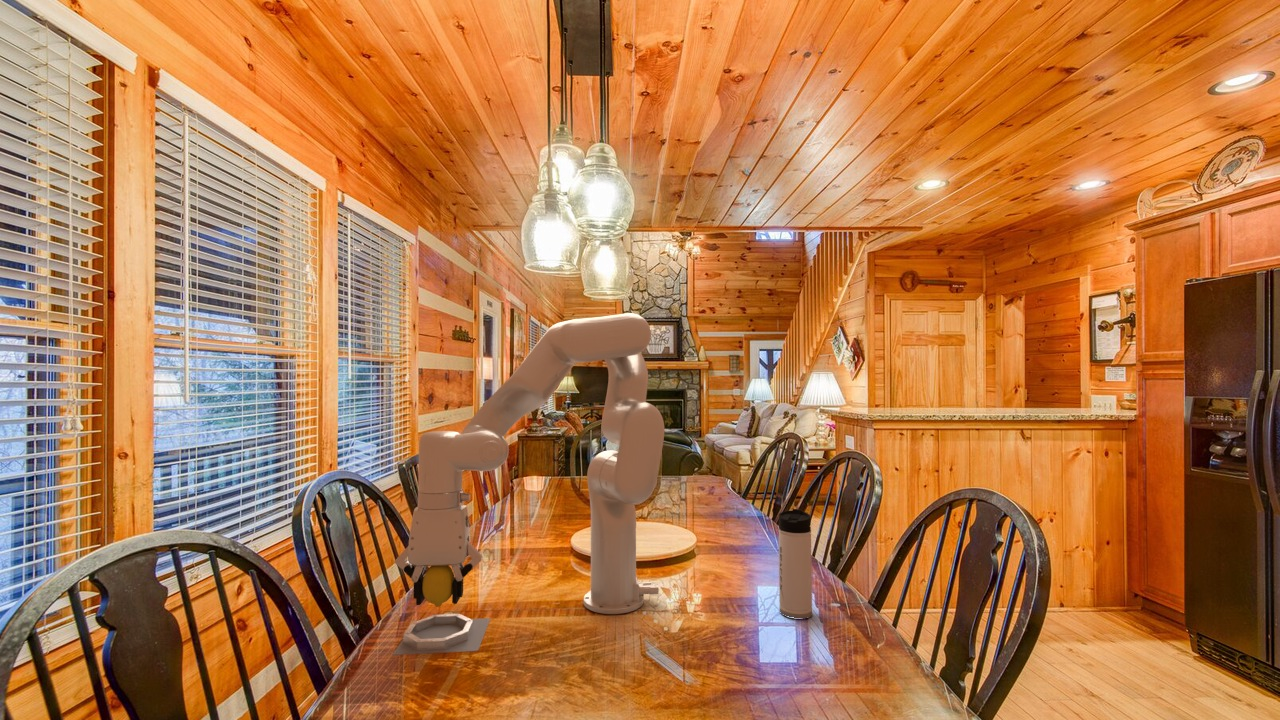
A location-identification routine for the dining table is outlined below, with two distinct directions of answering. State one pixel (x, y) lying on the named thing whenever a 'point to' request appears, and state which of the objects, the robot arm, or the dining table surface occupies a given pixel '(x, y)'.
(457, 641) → the ring
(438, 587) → the lemon
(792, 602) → the travel mug
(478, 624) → the board
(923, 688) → the dining table surface
